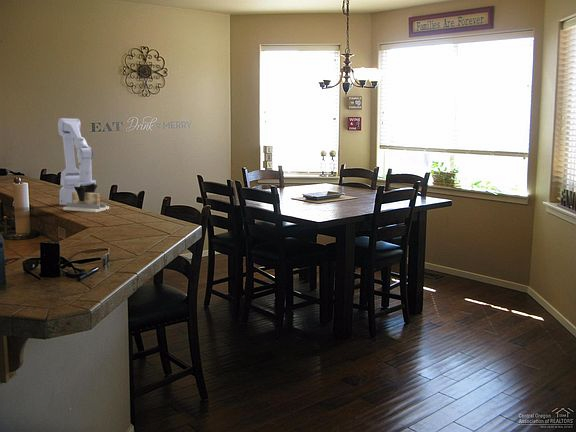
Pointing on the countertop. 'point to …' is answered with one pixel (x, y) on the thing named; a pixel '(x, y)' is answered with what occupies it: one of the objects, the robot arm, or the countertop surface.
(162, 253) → the countertop surface
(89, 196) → the door panel
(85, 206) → the track plinth
